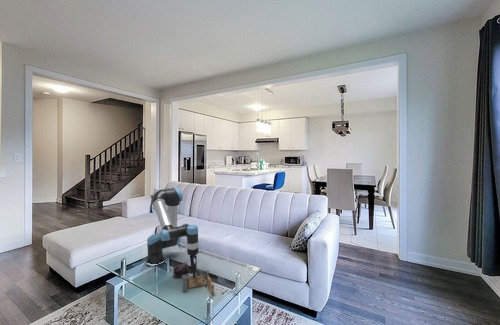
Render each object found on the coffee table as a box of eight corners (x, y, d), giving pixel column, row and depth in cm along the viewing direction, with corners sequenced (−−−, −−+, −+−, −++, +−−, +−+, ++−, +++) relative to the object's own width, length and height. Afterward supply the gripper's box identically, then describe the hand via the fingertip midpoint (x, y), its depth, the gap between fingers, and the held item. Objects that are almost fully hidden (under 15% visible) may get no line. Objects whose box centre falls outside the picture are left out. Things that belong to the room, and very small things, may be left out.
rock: (173, 276, 174) (177, 281, 166) (171, 265, 173) (174, 271, 165) (188, 269, 180) (192, 274, 172) (186, 259, 179) (190, 264, 171)
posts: (182, 290, 153) (181, 275, 153) (208, 283, 161) (208, 268, 161) (182, 293, 151) (182, 277, 150) (209, 285, 158) (209, 270, 158)
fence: (207, 286, 158) (206, 276, 157) (209, 285, 158) (208, 275, 158) (212, 296, 147) (211, 285, 147) (214, 295, 148) (213, 284, 147)
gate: (205, 284, 160) (205, 274, 159) (205, 285, 158) (205, 275, 158) (187, 287, 156) (186, 277, 156) (187, 289, 155) (186, 278, 155)
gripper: (185, 245, 161) (187, 277, 163) (188, 252, 149) (190, 287, 151) (196, 243, 164) (197, 274, 166) (200, 250, 152) (201, 284, 154)
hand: (194, 280), depth 158 cm, fingers closed
